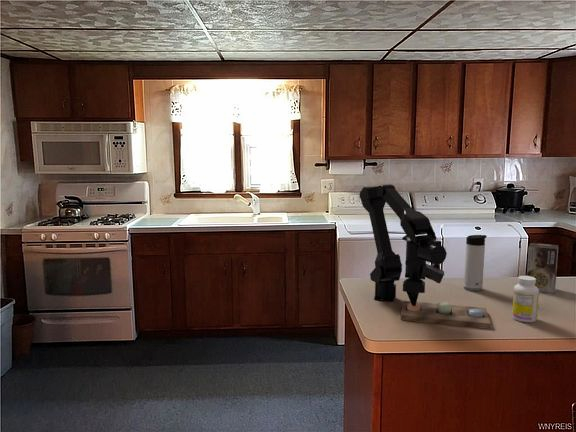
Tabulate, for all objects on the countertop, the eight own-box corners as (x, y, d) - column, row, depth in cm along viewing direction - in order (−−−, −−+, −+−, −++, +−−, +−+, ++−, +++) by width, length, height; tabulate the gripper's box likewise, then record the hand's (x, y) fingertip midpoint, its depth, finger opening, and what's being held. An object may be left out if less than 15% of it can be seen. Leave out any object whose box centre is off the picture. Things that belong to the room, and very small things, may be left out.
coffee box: (555, 288, 166) (559, 245, 163) (554, 293, 160) (558, 248, 158) (527, 284, 171) (530, 242, 168) (525, 289, 165) (528, 245, 163)
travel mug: (481, 292, 162) (484, 237, 159) (461, 289, 166) (464, 235, 162) (484, 288, 167) (487, 234, 164) (465, 285, 171) (468, 232, 168)
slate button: (468, 320, 137) (469, 312, 137) (467, 315, 141) (468, 308, 141) (483, 321, 136) (483, 314, 136) (481, 316, 140) (482, 309, 140)
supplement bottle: (524, 313, 143) (527, 273, 141) (541, 321, 136) (545, 279, 134) (506, 316, 141) (509, 275, 138) (524, 324, 134) (527, 282, 132)
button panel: (400, 319, 139) (401, 315, 138) (403, 305, 151) (403, 300, 151) (490, 328, 132) (491, 323, 131) (485, 312, 144) (485, 307, 144)
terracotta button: (406, 314, 143) (406, 307, 142) (407, 309, 146) (407, 302, 146) (420, 315, 141) (420, 308, 141) (420, 311, 145) (420, 303, 145)
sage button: (437, 313, 140) (437, 305, 139) (437, 308, 144) (437, 301, 143) (451, 314, 139) (451, 307, 138) (450, 310, 142) (451, 302, 142)
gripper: (444, 266, 130) (441, 319, 132) (442, 251, 147) (440, 298, 150) (403, 264, 133) (401, 315, 136) (406, 249, 151) (405, 295, 153)
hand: (413, 305), depth 144 cm, fingers closed, pressing on terracotta button
